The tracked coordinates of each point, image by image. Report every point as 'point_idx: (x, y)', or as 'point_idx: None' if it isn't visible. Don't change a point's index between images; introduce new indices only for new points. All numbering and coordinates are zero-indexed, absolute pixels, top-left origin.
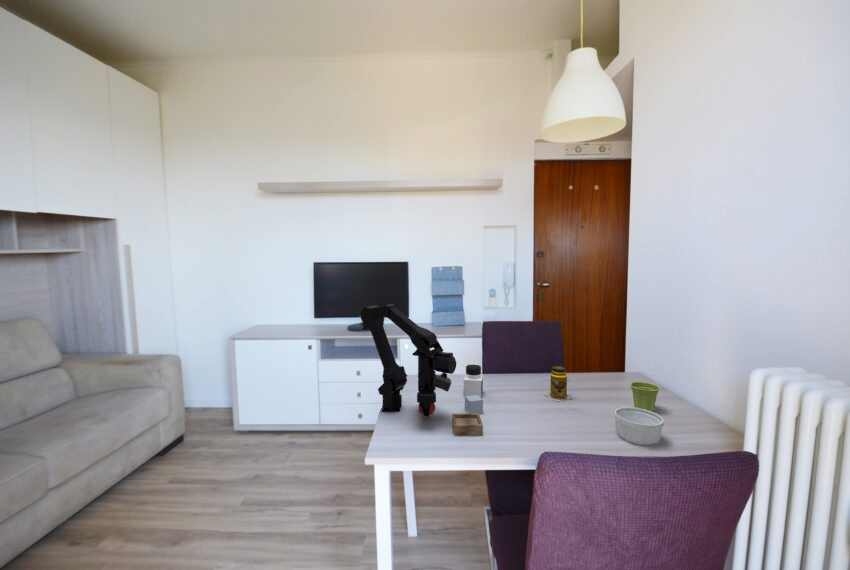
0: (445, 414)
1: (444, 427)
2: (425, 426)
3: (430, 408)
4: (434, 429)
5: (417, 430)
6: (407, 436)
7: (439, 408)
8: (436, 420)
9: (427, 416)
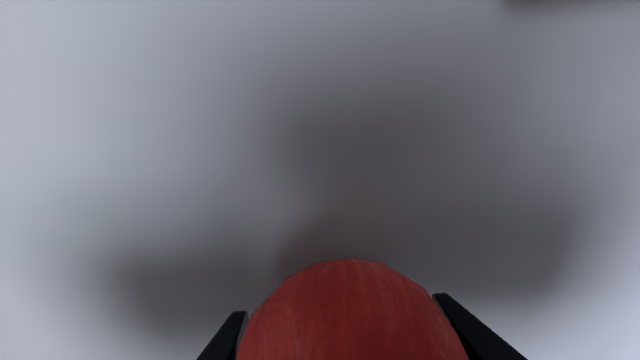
0: (233, 93)
1: (592, 95)
2: (517, 266)
3: (467, 358)
4: (600, 193)
5: (570, 308)
6: (637, 347)
7: (67, 175)
8: (404, 187)
9: (448, 300)
